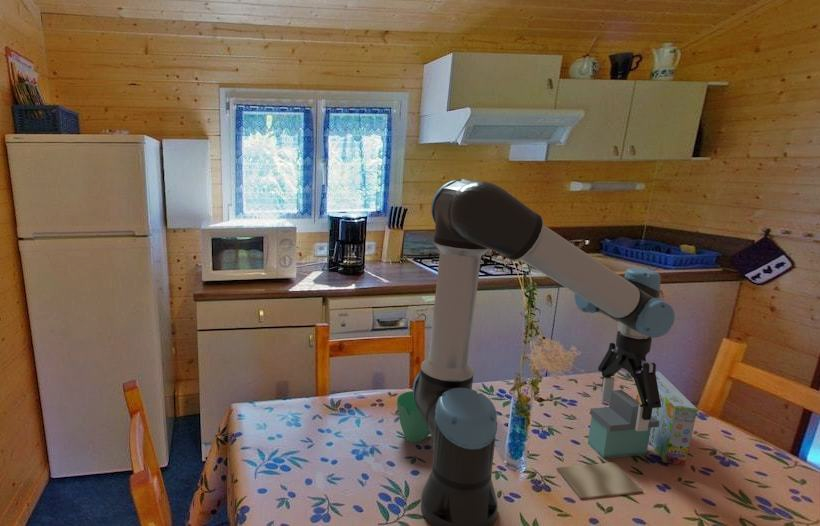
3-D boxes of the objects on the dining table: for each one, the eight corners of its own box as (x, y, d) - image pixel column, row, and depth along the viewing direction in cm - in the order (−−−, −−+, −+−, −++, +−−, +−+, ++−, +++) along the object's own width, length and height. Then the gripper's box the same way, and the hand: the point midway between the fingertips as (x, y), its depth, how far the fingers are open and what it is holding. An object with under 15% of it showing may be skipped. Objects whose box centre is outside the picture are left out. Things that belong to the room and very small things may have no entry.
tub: (602, 458, 113) (607, 428, 111) (587, 443, 119) (591, 414, 118) (646, 454, 116) (651, 425, 114) (629, 439, 122) (633, 411, 120)
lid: (609, 435, 110) (613, 408, 109) (589, 417, 118) (592, 391, 117) (657, 430, 114) (662, 404, 112) (635, 413, 121) (639, 388, 120)
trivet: (580, 499, 99) (580, 497, 98) (556, 469, 108) (556, 467, 108) (642, 492, 102) (643, 490, 102) (614, 463, 111) (614, 462, 111)
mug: (398, 449, 113) (400, 411, 110) (392, 427, 122) (394, 391, 120) (457, 445, 115) (460, 408, 113) (446, 424, 125) (449, 389, 123)
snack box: (688, 466, 112) (699, 408, 109) (663, 464, 112) (674, 406, 109) (651, 419, 133) (660, 370, 129) (631, 417, 133) (639, 368, 130)
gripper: (688, 353, 100) (673, 442, 104) (615, 316, 124) (605, 390, 128) (658, 355, 98) (643, 445, 103) (590, 317, 122) (581, 391, 127)
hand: (622, 415), depth 116 cm, fingers open, 13 cm apart
